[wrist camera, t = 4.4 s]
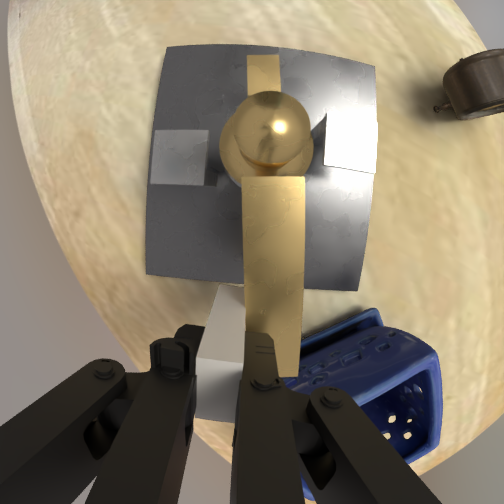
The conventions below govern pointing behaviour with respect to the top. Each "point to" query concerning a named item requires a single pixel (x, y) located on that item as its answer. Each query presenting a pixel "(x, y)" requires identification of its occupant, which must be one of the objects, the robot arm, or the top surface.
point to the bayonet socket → (230, 191)
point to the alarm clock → (475, 85)
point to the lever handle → (271, 204)
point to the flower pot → (377, 379)
